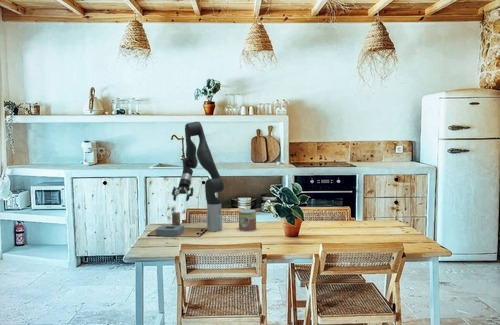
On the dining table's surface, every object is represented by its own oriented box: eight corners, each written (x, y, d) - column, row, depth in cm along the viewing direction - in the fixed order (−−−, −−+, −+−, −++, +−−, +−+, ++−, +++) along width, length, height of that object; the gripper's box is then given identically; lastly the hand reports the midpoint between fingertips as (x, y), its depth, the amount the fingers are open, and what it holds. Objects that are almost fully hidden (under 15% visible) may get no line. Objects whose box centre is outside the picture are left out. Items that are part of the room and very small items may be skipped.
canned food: (236, 230, 284) (235, 212, 283) (242, 226, 294) (242, 208, 293) (252, 231, 280) (252, 213, 279) (258, 228, 290) (258, 209, 289)
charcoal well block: (183, 231, 281) (183, 225, 281) (177, 236, 269) (177, 230, 269) (162, 231, 284) (162, 225, 283) (155, 235, 272) (155, 229, 271)
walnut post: (180, 228, 290) (179, 212, 289) (178, 230, 286) (177, 213, 285) (174, 228, 291) (174, 212, 290) (172, 230, 287) (171, 213, 286)
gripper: (174, 177, 306) (169, 197, 296) (194, 178, 304) (189, 197, 293) (176, 184, 312) (171, 203, 301) (196, 184, 309) (192, 204, 299)
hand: (180, 200), depth 297 cm, fingers open, 8 cm apart
